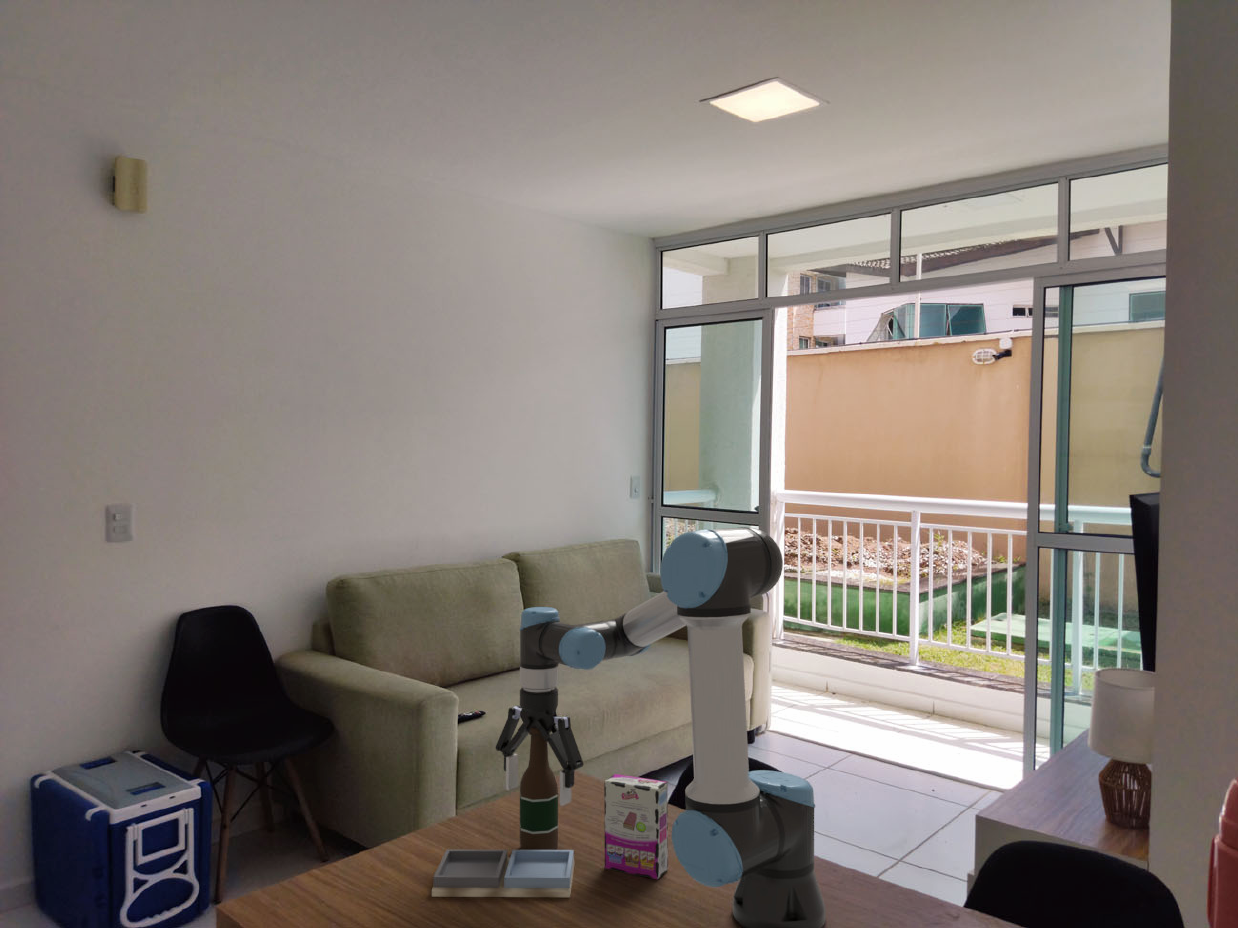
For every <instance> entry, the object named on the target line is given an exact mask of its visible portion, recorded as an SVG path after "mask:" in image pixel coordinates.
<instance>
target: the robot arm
mask: <svg viewBox="0 0 1238 928" xmlns="http://www.w3.org/2000/svg"><path fill="white" fill-rule="evenodd" d="M783 563H784V562H783V554H782V551H781V549H780V547H779V545H778V544H777V542H776V541H775V539H773V537H772V536H770V535H769V534H767V533H766V532H765V531H762V530H760V529H758V528H754V527H751V526H750V527H749V526H744V527H743V526H742V527H740V526H739V527H730V528H727V527H726V528H711V529H709V528H704V529H697V530H693V531H688V532H684V533H682V534H680V535H678V536H677V537H675V538H674V539H673V540H672V541H671V544H669V545H668V546H667V548H666V549H665V552H664V553H663V556H662V559H661V561H660V571H659V573H660V575H659V576H660V584H661V588H662V589H663V591H661V592H660V593H657V594H655V595H654V596H652V597H651V598H649V599H647V600H645V601H643V602H642V603H640V604H638V605H637V606H635V607H634V608H632V609H630V610H629V611H627V612H625V613H623V614H621V615H620V616H619V615H618V617H616V618H612V619H606V620H599V621H591V622H587V623H581V624H580V623H579V624H569V623H564V622H561V621H560V620H561V619H560V612H559V611H558V610H557V609H556V608H555V607H550V606H549V607H548V606H534V607H529V608H525V609H524V610H523V611H522V612H521V615H520V628H519V652H520V655H519V657H520V658H519V659H520V662H519V663H520V664H519V665H520V666H519V686H520V687H521V688H520V689H519V705H515V706H512V707H510V708H508V711H507V718H506V722H505V723H504V726H503V728H502V731H501V733H500V735H499V738H498V740H497V742H496V745H495V750H496V751H497V752H501V753H502V755H503V770H504V772H505V790H506V791H511V790H512V789H515V788H518V787H519V785H518V782H519V772H518V771H519V767H518V766H519V753H516V752H517V749H518V748H519V747H520V745H522V743H523V742H524V741H525V739H527V737H528V735H530V736H531V733H530V729H531V727H535V728H537V729H538V730H540V732H541V734H540V737H544V739H545V741H547V744H548V745H549V746H550V748H551V750H552V751H553V754H554V755H555V757H556V759H557V761H558V762H559V764H560V766H561V768H562V769H561V770H560V771H559V806H561V807H563V806H566V805H568V804H570V803H571V802H572V788H573V787H574V785H575V771H576V770H579V769H580V768H583V766H584V760H583V759H582V754H581V752H580V750H579V747H578V743H577V741H576V739H575V735H574V733H573V729H572V727H571V717H570V716H569V715H566V716H558V715H557V708H558V706H559V689H558V687H557V686H558V685H559V665H563V666H567V667H569V668H571V669H572V668H573V669H574V670H585V671H586V670H587V671H588V670H593V669H595V668H596V667H597V666H598V665H599V664H601V662H604V661H607V660H612V659H617V658H623V657H634V656H637V655H639V654H641V653H645V652H646V651H648V650H649V649H650V647H651V645H652V643H655V642H657V641H658V640H661V639H663V638H665V637H667V636H669V635H671V634H673V633H675V632H676V631H678V630H680V629H682V628H684V627H687V628H686V629H687V646H688V647H687V649H688V650H687V651H688V665H689V666H688V667H689V669H688V670H689V693H690V694H689V695H690V713H691V733H692V736H691V737H692V739H691V740H692V757H693V758H692V759H693V760H692V761H693V777H694V778H693V780H692V781H691V782H690V783H689V784H688V785H687V786H686V788H685V789H684V791H685V792H684V793H685V798H684V799H685V810H684V811H682V812H680V814H679V815H677V818H676V819H675V820H673V824H672V827H671V843H672V846H673V850H674V854H675V855H676V857H677V861H679V864H680V865H681V866H682V867H683V868H684V870H685V872H686V873H687V874H688V875H689V876H690V877H691V878H692V879H693V880H694V881H695V882H696V883H699V884H700V885H703V886H705V887H707V888H719V887H723V886H725V885H728V884H735V883H736V887H735V890H734V893H733V895H732V916H733V917H734V919H735V920H736V921H737V923H738V924H739V925H740V926H742V927H743V928H823V926H824V925H825V923H826V905H825V901H824V898H823V895H822V892H821V889H820V886H819V882H818V880H817V875H816V873H815V808H816V804H815V797H814V796H815V795H814V794H815V793H814V789H813V785H812V784H811V783H810V782H809V781H808V780H806V779H805V778H803V777H800V776H799V775H795V774H792V773H787V772H782V771H777V770H776V771H775V770H766V769H765V770H764V769H762V770H761V769H760V770H751V771H750V768H749V767H750V765H749V748H748V747H749V746H748V729H747V728H748V725H747V705H746V703H747V702H746V688H745V687H746V686H745V684H746V683H745V667H744V666H745V664H744V646H743V645H744V644H743V624H744V623H745V621H746V620H747V619H748V618H749V617H750V616H751V615H752V610H751V600H752V599H754V598H757V597H759V596H762V595H764V594H767V593H768V592H769V591H771V590H772V589H773V588H775V586H776V585H777V583H778V582H779V581H780V578H781V577H782V571H783ZM520 719H521V721H522V723H521V724H520V726H519V728H518V729H517V726H518V724H519V722H520ZM516 729H517V731H516ZM515 731H516V733H515ZM514 733H515V734H514Z"/></svg>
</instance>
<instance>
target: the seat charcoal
mask: <svg viewBox="0 0 1238 928" xmlns="http://www.w3.org/2000/svg"><path fill="white" fill-rule="evenodd" d="M507 857H508V849H468V848H467V849H462V848H461V849H458V848H457V849H453V848H452V849H451V848H449V849H448V848H447V849H445V852H444V854H443V856H442V858H441V861H440V862H439V864H438V866H437V868H436V871H435V872H434V874H433V881H432V883H433V884H432V885H433V887H432V888H499V885H500V882H501V878H502V875H503V872H504V869H505V865H506V862H507Z"/></svg>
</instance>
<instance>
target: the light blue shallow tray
mask: <svg viewBox="0 0 1238 928" xmlns="http://www.w3.org/2000/svg"><path fill="white" fill-rule="evenodd" d="M573 860H574V861H575V856H574V849H557V850H521V849H512V851H511V855H510V860H509V864H508V867H507V870H506V874H505V877H504V888H570V882H571V875H572V867H573Z"/></svg>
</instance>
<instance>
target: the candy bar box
mask: <svg viewBox="0 0 1238 928" xmlns="http://www.w3.org/2000/svg"><path fill="white" fill-rule="evenodd" d="M603 783H604V784H603V786H604V787H603V788H604V790H603V791H604V792H603V793H604V868H605V869H607V870H611V871H616V872H621V873H624V874H629V875H635V876H638V877H639V876H640V877H644V878H649V879H654V880H659V879H660V878H661V877H662V876H663V875H664V874H666V872H667V871H668V869H669V856H668V855H669V854H668V853H669V851H668V849H669V846H668V845H669V841H668V837H669V835H668V834H669V833H668V832H669V831H668V830H669V829H668V824H669V823H668V805H669V803H668V781H664V780H658V779H652V778H646V777H645V778H644V777H639V776H631V775H624V774H618V773H614V774H613V775H611V776H610V777H609V778H607V779H605V780H604V782H603Z"/></svg>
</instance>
